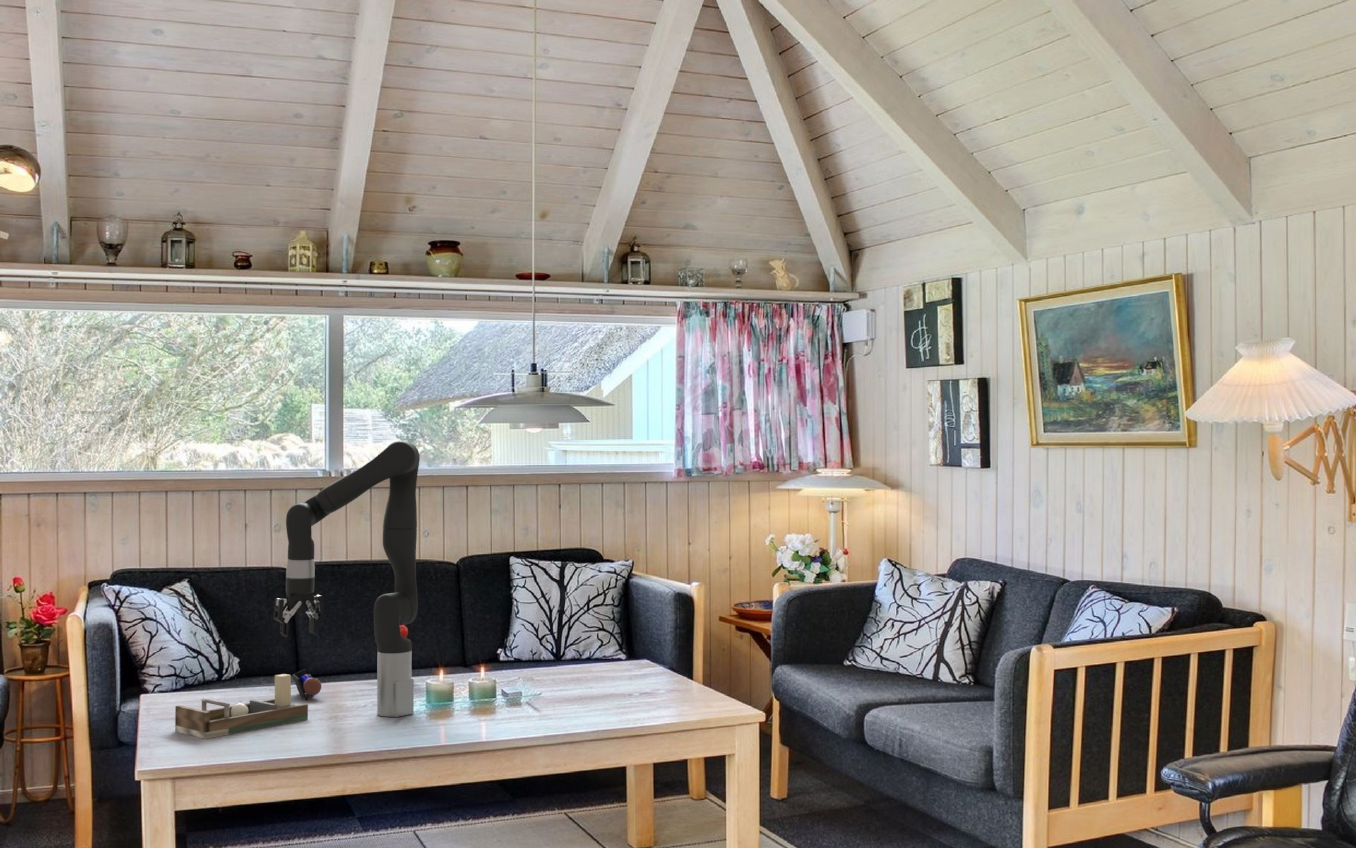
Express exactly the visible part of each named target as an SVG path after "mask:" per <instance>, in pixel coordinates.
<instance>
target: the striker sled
mask: <svg viewBox="0 0 1356 848" xmlns="http://www.w3.org/2000/svg"><path fill="white" fill-rule="evenodd" d="M291 684H292V675H291V674H288V673H287V674H286V673H281V674H274V699H275V704H273V703H268V702H263V701H264V700H257V699H249V703H250V712H251V713H257V712H263V711H268V710H274V709H279V708H285V707H291V706H296V704H292V703H291V702H292V701H291V700H292V698H291V697H292V695H291V694H292V693H291V692H292V685H291Z"/></svg>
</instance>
